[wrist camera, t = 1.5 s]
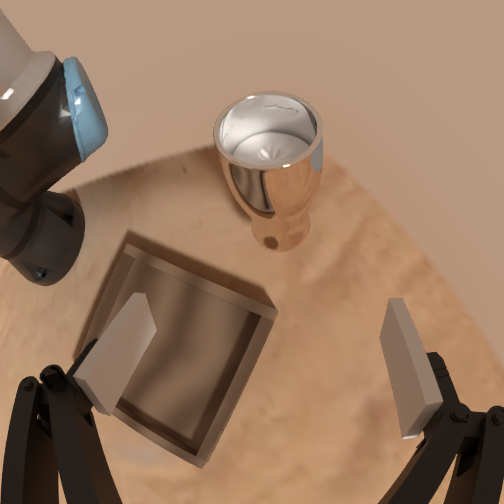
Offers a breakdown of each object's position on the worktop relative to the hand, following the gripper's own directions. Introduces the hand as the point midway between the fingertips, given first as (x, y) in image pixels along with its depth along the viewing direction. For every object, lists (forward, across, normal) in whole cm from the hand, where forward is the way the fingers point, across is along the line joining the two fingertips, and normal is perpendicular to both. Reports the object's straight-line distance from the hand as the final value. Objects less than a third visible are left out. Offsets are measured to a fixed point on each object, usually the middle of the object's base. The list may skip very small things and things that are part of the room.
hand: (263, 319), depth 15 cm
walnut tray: (+10, -13, -14) cm, 22 cm away
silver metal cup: (+17, 0, -1) cm, 17 cm away
